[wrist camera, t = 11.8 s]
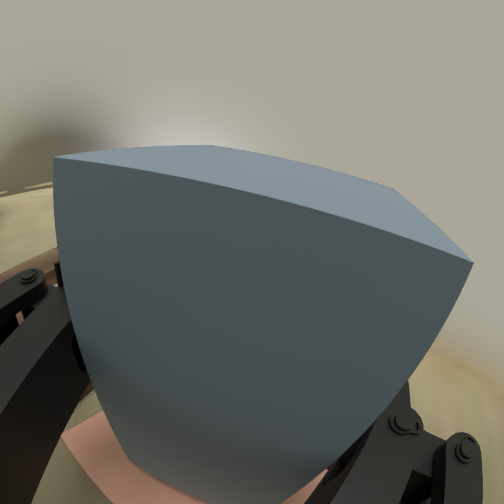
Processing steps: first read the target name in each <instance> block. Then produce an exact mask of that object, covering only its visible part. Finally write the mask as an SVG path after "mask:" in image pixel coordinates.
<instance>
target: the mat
mask: <svg viewBox="0 0 504 504" xmlns="http://www.w3.org/2000/svg"><path fill="white" fill-rule="evenodd" d="M61 438H62V439H63V441H64V442H65V444H66V445H67V447H68V448H69V450H70V451H71V453H72V454H73V456H74V457H75V458H76V460H77V461H78V462H79V464H80V465H81V466H82V468H83V469H84V470H85V472H86V473H87V474H88V475H89V477H90V478H91V479H92V480H93V482H94V483H95V484H96V485H97V486H98V488H99V489H100V490H101V491H102V492H103V493H104V494H105V495H106V497H107V498H108V499H109V500H110V501H111V502H112V503H113V504H210V503H208V502H205V501H203V500H201V499H198V498H196V497H194V496H192V495H190V494H187V493H185V492H183V491H181V490H179V489H177V488H175V487H173V486H171V485H169V484H168V483H166V482H164V481H162V480H160V479H158V478H157V477H155V476H153V475H151V474H150V473H148V472H146V471H145V470H143V469H141V468H140V467H138V466H137V465H135V464H133V463H132V462H130V461H129V459H128V458H127V456H126V454H125V453H124V451H123V449H122V447H121V445H120V443H119V442H118V440H117V438H116V436H115V434H114V432H113V430H112V428H111V426H110V424H109V422H108V420H107V417H106V415H105V413H104V411H101V412H99V413H97V414H96V415H94V416H92V417H90V418H89V419H87V420H85V421H83V422H81V423H80V424H78V425H76V426H74V427H72V428H71V429H69V430H67V431H65V432H63V433H62V435H61ZM327 471H328V470H327V469H325V470H324V471H323V472H322V473H320V474H319V475H318V476H317V477H316V478H314V479H313V480H312V481H311V482H309V483H308V484H307V485H306V486H304V487H303V488H302V489H300V490H299V491H298V492H296V493H295V494H294V495H292V496H291V497H290V498H288V499H287V500H285V501H284V502H282V503H281V504H304V503H305V501H306V500H307V499H308V497H309V496H310V495H311V493H312V492H313V491H314V489H315V488H316V487H317V485H318V484H319V482H320V481H321V480H322V478H323V477H324V475H325V474H326V472H327Z"/></svg>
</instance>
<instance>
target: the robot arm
mask: <svg viewBox="0 0 504 504" xmlns="http://www.w3.org/2000/svg"><path fill="white" fill-rule="evenodd" d="M54 267H55V273H56V278H57V283H58V287H54V286H51V285H48V284H47V283H46V278H45V273H44V272H43V271H42V270H39V269H33V268H31V269H28V270H24V271H22V272H20V273H18V274H16V275H14V276H13V277H11V278H9V279H7V280H6V281H4V282H2V283H1V284H0V504H31V503H32V500H33V497H34V495H35V492H36V490H37V487H38V485H39V483H40V480H41V478H42V475H43V473H44V471H45V469H46V466H47V464H48V462H49V460H50V458H51V455H52V453H53V451H54V449H55V447H56V445H57V443H58V441H59V439H60V437H61V435H62V433H63V431H64V429H65V427H66V425H67V423H68V421H69V419H70V417H71V415H72V413H73V411H74V409H75V408H76V406H77V404H78V402H79V400H80V398H81V397H82V395H83V393H84V391H85V389H86V388H87V386H88V384H89V382H90V381H91V380H90V377H89V374H88V372H87V369H86V366H85V363H84V360H83V357H82V354H81V351H80V348H79V345H78V341H77V338H76V335H75V331H74V327H73V324H72V320H71V316H70V312H69V308H68V303H67V299H66V294H65V290H64V284H63V279H62V274H61V268H60V261H59V260H58V261H57V262H55V263H54ZM20 311H21V313H22V316H23V319H24V321H23V322H22V323H21V324H20V325H19V323H18V320H17V317H16V314H18V313H19V312H20ZM326 469H327V470H328V471H327V472H326V474H325V475H324V477H323V478H322V480H321V481H320V482H319V484H318V485H317V487H316V488H315V489H314V491H313V492H312V493H311V495H310V496H309V497H308V499H307V500H306V501H305V503H304V504H482V501H483V477H482V459H481V451H480V447H479V444H478V443H477V441H476V440H475V438H473V437H472V436H471V435H470V434H467V433H464V432H459V433H455V434H454V435H452V436H451V437H450V438H448V439H447V440H446V441H445V440H443V439H441V438H439V437H436V436H434V435H432V434H430V433H428V432H426V431H425V430H423V423H422V420H421V417H420V416H419V415H418V414H417V412H416V411H415V410H413V409H412V408H411V405H410V393H409V383H408V380H407V382H406V383H405V384H404V386H403V387H402V388H401V390H400V391H399V392H398V394H397V395H396V396H395V397H394V399H393V400H392V401H391V402H390V403H389V405H388V406H387V407H386V408H385V409H384V411H383V412H382V413H381V414H380V415H379V416H378V418H377V419H376V420H375V421H374V422H373V423H372V424H371V425H370V426H369V428H368V429H367V430H366V431H365V432H364V433H363V434H362V435H361V436H360V437H359V438H358V439H357V440H356V441H355V442H354V443H353V444H352V445H351V446H350V447H349V448H348V449H347V450H346V451H345V452H344V453H343V454H342V455H341V456H340V457H339V458H338V459H336V460H335V461H334V462H333V463H332V464H331V465H330V466H329V467H327V468H326Z"/></svg>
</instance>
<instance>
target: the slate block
mask: <svg viewBox="0 0 504 504" xmlns="http://www.w3.org/2000/svg"><path fill="white" fill-rule="evenodd" d="M53 199H54V217H55V229H56V238H57V247H58V254H59V261H60V268H61V274H62V279H63V284H64V290H65V294H66V299H67V303H68V308H69V312H70V316H71V320H72V324H73V327H74V331H75V335H76V338H77V341H78V345H79V348H80V351H81V354H82V357H83V360H84V363H85V366H86V369H87V372H88V374H89V377H90V380H91V382H92V385H93V387H94V390H95V392H96V395H97V397H98V400H99V402H100V404H101V406H102V409H103V411H104V413H105V415H106V417H107V420H108V422H109V424H110V426H111V428H112V430H113V432H114V434H115V436H116V438H117V440H118V442H119V443H120V445H121V447H122V449H123V451H124V453H125V454H126V456H127V458H128V459H129V461H130V462H132V463H133V464H135V465H137V466H138V467H140V468H141V469H143V470H145V471H146V472H148V473H150V474H151V475H153V476H155V477H157V478H158V479H160V480H162V481H164V482H166V483H168V484H169V485H171V486H173V487H175V488H177V489H179V490H181V491H183V492H185V493H187V494H190V495H192V496H194V497H196V498H198V499H201V500H203V501H205V502H208V503H210V504H281V503H282V502H284V501H285V500H287V499H288V498H290V497H291V496H292V495H294V494H295V493H296V492H298V491H299V490H300V489H302V488H303V487H304V486H306V485H307V484H308V483H309V482H311V481H312V480H313V479H314V478H316V477H317V476H318V475H319V474H320V473H322V472H323V471H324V470H325V469H326V468H327V467H329V466H330V465H331V464H332V463H333V462H334V461H335V460H336V459H338V458H339V457H340V456H341V455H342V454H343V453H344V452H345V451H346V450H347V449H348V448H349V447H350V446H351V445H352V444H353V443H354V442H355V441H356V440H357V439H358V438H359V437H360V436H361V435H362V434H363V433H364V432H365V431H366V430H367V429H368V428H369V426H370V425H371V424H372V423H373V422H374V421H375V420H376V419H377V418H378V416H379V415H380V414H381V413H382V412H383V411H384V409H385V408H386V407H387V406H388V405H389V403H390V402H391V401H392V400H393V399H394V397H395V396H396V395H397V394H398V392H399V391H400V390H401V388H402V387H403V386H404V384H405V383H406V382H407V380H408V379H409V378H410V376H411V375H412V373H413V372H414V371H415V369H416V368H417V366H418V365H419V363H420V362H421V361H422V359H423V358H424V356H425V354H426V353H427V351H428V350H429V348H430V347H431V345H432V343H433V342H434V340H435V339H436V337H437V335H438V334H439V332H440V330H441V328H442V327H443V325H444V323H445V321H446V320H447V318H448V316H449V314H450V312H451V310H452V308H453V307H454V305H455V302H456V301H457V298H458V297H459V295H460V293H461V291H462V288H463V286H464V284H465V282H466V280H467V277H468V275H469V273H470V271H471V268H472V266H473V264H474V263H473V261H472V260H471V259H470V258H469V257H468V256H467V255H466V254H465V253H464V252H463V251H462V250H461V249H460V248H459V247H458V246H457V245H456V244H455V243H454V242H453V241H452V240H451V239H450V238H449V237H448V236H447V235H446V234H445V233H444V232H443V231H442V230H441V229H440V228H438V227H437V226H436V225H435V224H434V223H433V222H432V221H431V220H429V218H427V217H426V216H425V215H424V214H423V213H422V212H421V211H419V210H418V209H417V208H416V207H415V206H414V205H412V204H411V203H410V202H409V201H408V200H406V199H405V198H404V197H403V196H402V195H400V194H399V193H398V192H397V191H395V190H394V189H392V188H389V187H387V186H384V185H380V184H377V183H374V182H371V181H368V180H365V179H361V178H358V177H355V176H351V175H348V174H344V173H340V172H337V171H333V170H329V169H326V168H322V167H318V166H314V165H310V164H306V163H302V162H297V161H293V160H288V159H284V158H279V157H275V156H270V155H265V154H260V153H255V152H249V151H244V150H238V149H232V148H226V147H219V146H213V145H186V146H185V145H183V146H182V145H181V146H152V147H135V148H122V149H111V150H102V151H93V152H85V153H78V154H70V155H64V156H57V157H54V158H53Z"/></svg>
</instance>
